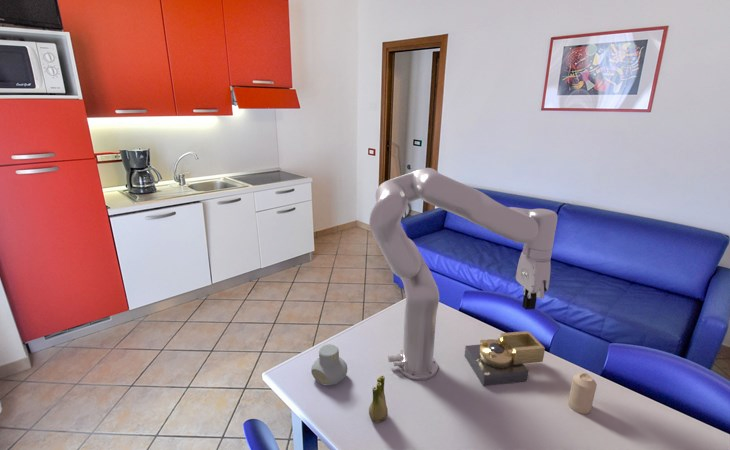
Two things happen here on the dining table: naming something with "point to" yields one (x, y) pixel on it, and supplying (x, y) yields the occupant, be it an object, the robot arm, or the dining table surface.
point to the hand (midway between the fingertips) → (528, 307)
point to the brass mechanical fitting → (504, 355)
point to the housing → (494, 369)
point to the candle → (582, 393)
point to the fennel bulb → (378, 402)
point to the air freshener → (329, 366)
